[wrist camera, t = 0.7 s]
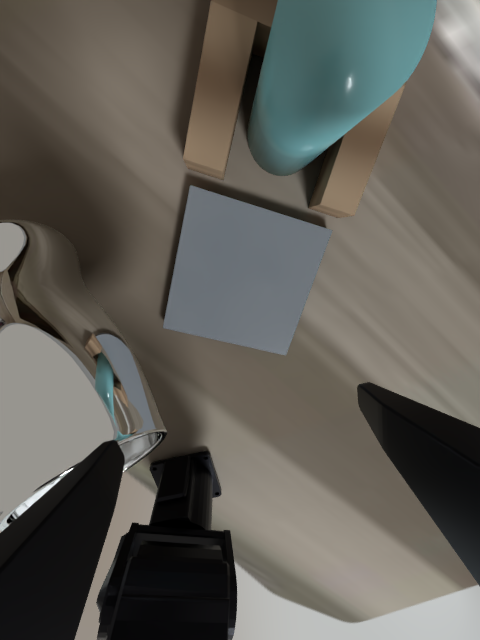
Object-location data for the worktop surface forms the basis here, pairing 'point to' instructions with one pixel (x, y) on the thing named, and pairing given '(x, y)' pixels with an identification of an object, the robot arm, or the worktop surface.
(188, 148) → the bracket
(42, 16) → the worktop surface
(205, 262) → the coaster
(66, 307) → the beer glass
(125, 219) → the worktop surface
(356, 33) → the teal gourd with tab
